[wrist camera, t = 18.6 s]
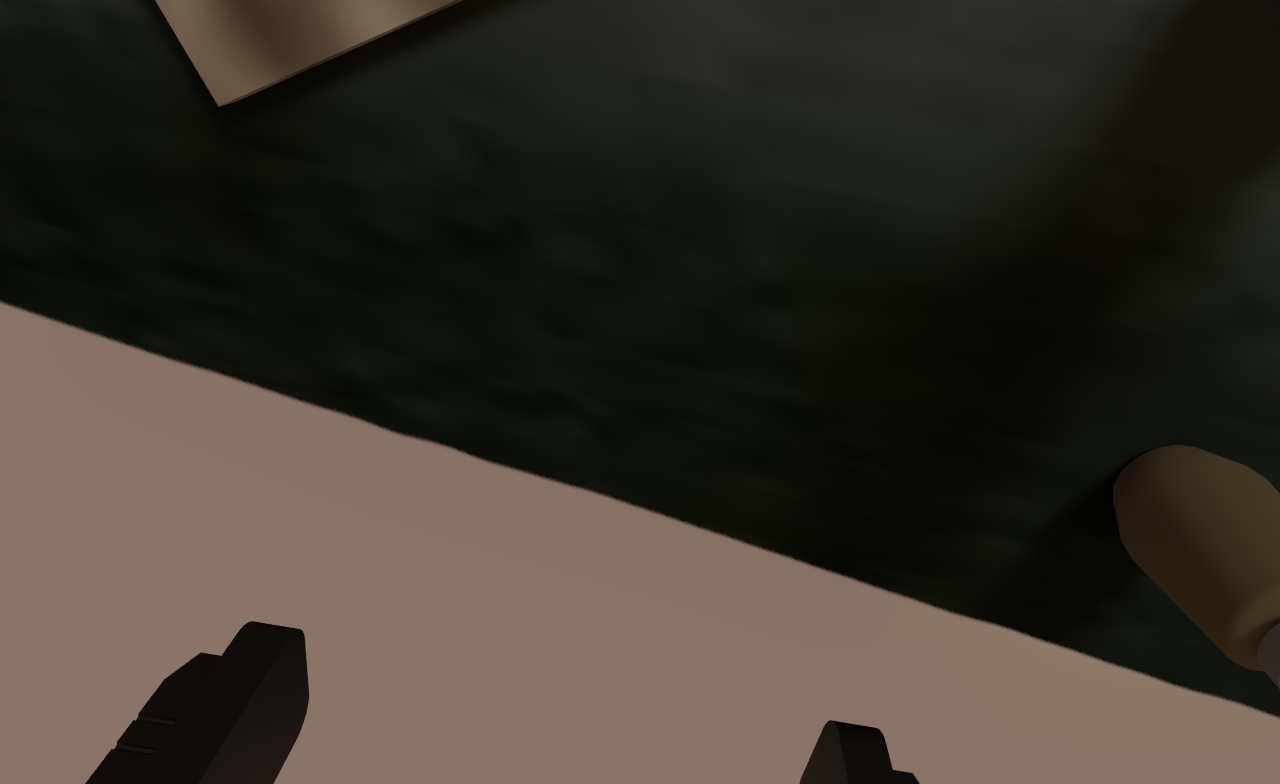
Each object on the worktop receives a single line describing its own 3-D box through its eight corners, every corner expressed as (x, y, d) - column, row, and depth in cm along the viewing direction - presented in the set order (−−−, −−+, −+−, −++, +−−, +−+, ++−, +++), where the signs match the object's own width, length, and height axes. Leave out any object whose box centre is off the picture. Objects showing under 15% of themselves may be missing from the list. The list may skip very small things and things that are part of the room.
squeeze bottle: (1264, 451, 45) (1574, 707, 29) (1175, 548, 48) (1406, 821, 33) (1146, 410, 44) (1399, 650, 28) (1065, 512, 48) (1248, 774, 32)
